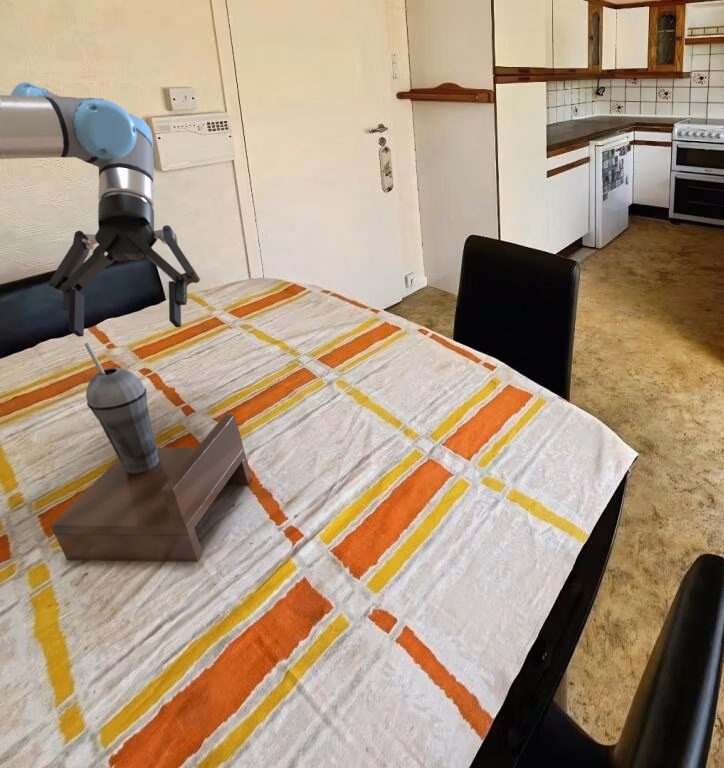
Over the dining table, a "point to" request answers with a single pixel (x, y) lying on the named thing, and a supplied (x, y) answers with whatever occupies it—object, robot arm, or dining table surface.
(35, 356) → the dining table surface
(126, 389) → the beverage cup
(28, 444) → the dining table surface
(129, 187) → the robot arm
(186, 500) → the shelf
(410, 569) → the dining table surface
